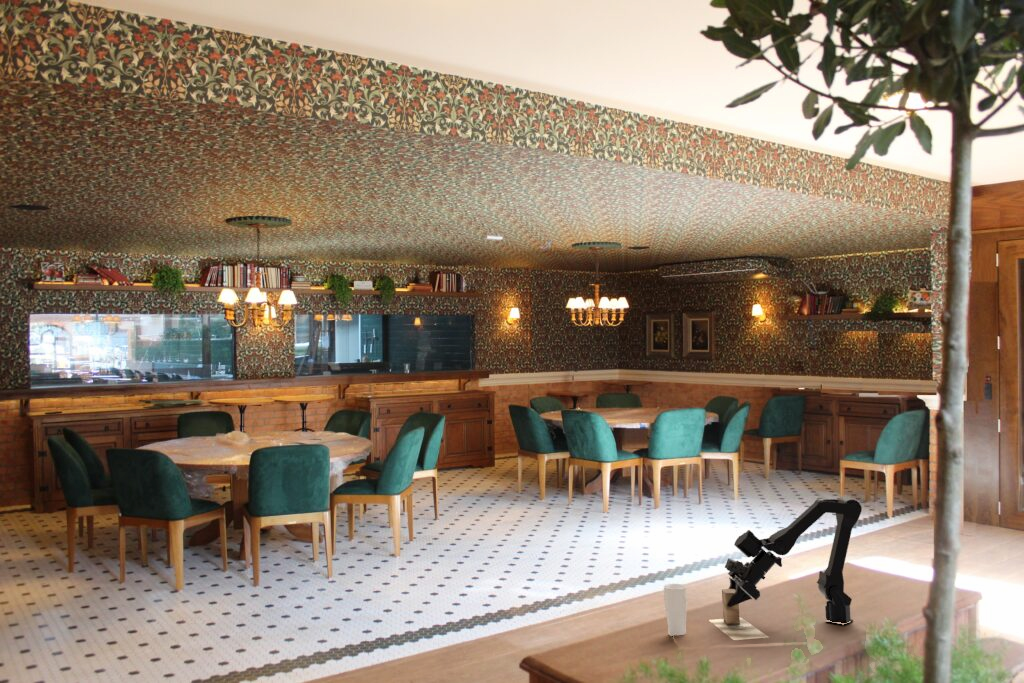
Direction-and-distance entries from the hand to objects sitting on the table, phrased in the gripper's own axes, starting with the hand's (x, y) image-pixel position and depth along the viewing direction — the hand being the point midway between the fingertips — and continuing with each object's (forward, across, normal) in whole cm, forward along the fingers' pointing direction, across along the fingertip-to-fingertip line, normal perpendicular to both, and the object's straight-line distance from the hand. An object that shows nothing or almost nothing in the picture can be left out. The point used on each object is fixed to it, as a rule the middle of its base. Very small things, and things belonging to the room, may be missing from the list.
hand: (726, 603), depth 270 cm
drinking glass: (+17, +7, -7) cm, 20 cm away
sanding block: (+3, 0, +5) cm, 6 cm away
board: (+4, +5, +6) cm, 9 cm away
